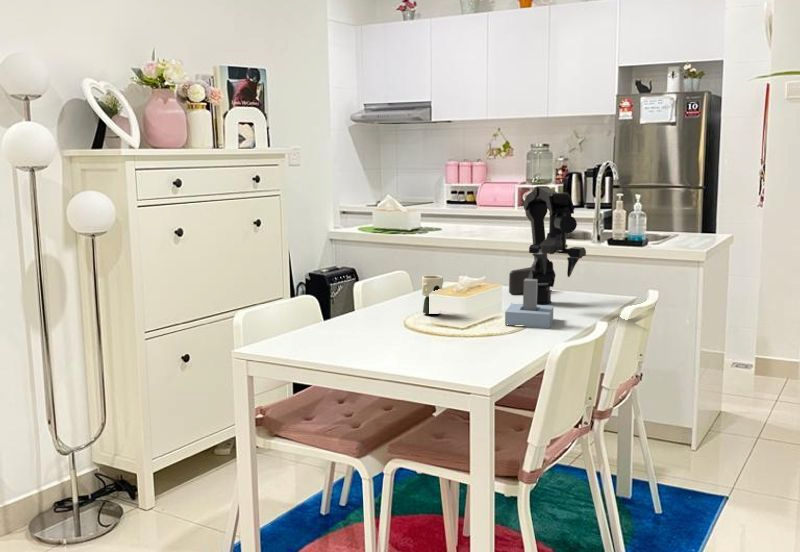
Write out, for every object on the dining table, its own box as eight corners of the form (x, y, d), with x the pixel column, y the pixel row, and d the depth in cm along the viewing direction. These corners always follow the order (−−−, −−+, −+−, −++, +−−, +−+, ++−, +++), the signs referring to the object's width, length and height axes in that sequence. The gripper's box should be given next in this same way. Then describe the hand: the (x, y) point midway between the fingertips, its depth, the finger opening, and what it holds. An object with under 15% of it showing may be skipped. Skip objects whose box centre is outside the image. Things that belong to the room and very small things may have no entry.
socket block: (510, 316, 275) (511, 303, 274) (553, 318, 271) (553, 305, 270) (505, 325, 262) (505, 311, 261) (549, 328, 258) (549, 314, 257)
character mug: (432, 318, 271) (432, 280, 269) (414, 316, 275) (414, 278, 273) (449, 313, 280) (449, 275, 278) (432, 310, 284) (432, 273, 282)
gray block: (524, 317, 269) (525, 278, 266) (536, 318, 268) (537, 279, 265) (522, 320, 265) (523, 280, 263) (535, 320, 264) (536, 281, 262)
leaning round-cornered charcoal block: (517, 296, 310) (518, 271, 309) (507, 294, 313) (508, 270, 312) (543, 291, 321) (543, 267, 320) (533, 289, 324) (534, 266, 323)
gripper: (521, 230, 275) (520, 275, 278) (573, 234, 264) (571, 281, 267) (537, 227, 284) (535, 271, 287) (587, 230, 273) (585, 277, 276)
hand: (556, 275), depth 279 cm, fingers open, 9 cm apart
